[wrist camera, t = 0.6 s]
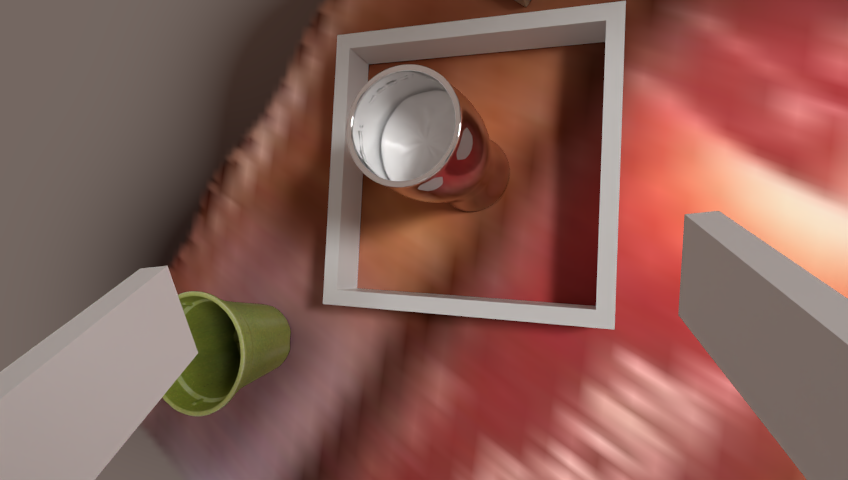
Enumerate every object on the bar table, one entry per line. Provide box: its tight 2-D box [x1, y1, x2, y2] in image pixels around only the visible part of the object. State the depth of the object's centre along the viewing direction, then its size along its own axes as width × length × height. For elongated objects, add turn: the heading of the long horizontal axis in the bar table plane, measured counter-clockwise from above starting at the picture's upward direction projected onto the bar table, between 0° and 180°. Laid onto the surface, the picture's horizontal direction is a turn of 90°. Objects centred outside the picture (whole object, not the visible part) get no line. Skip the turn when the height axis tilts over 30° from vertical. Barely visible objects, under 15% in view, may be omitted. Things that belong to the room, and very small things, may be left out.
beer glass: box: [347, 64, 510, 212], centre depth 34 cm, size 7×7×15 cm
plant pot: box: [162, 291, 291, 416], centre depth 42 cm, size 9×9×9 cm
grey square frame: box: [323, 1, 626, 330], centre depth 39 cm, size 22×22×4 cm
